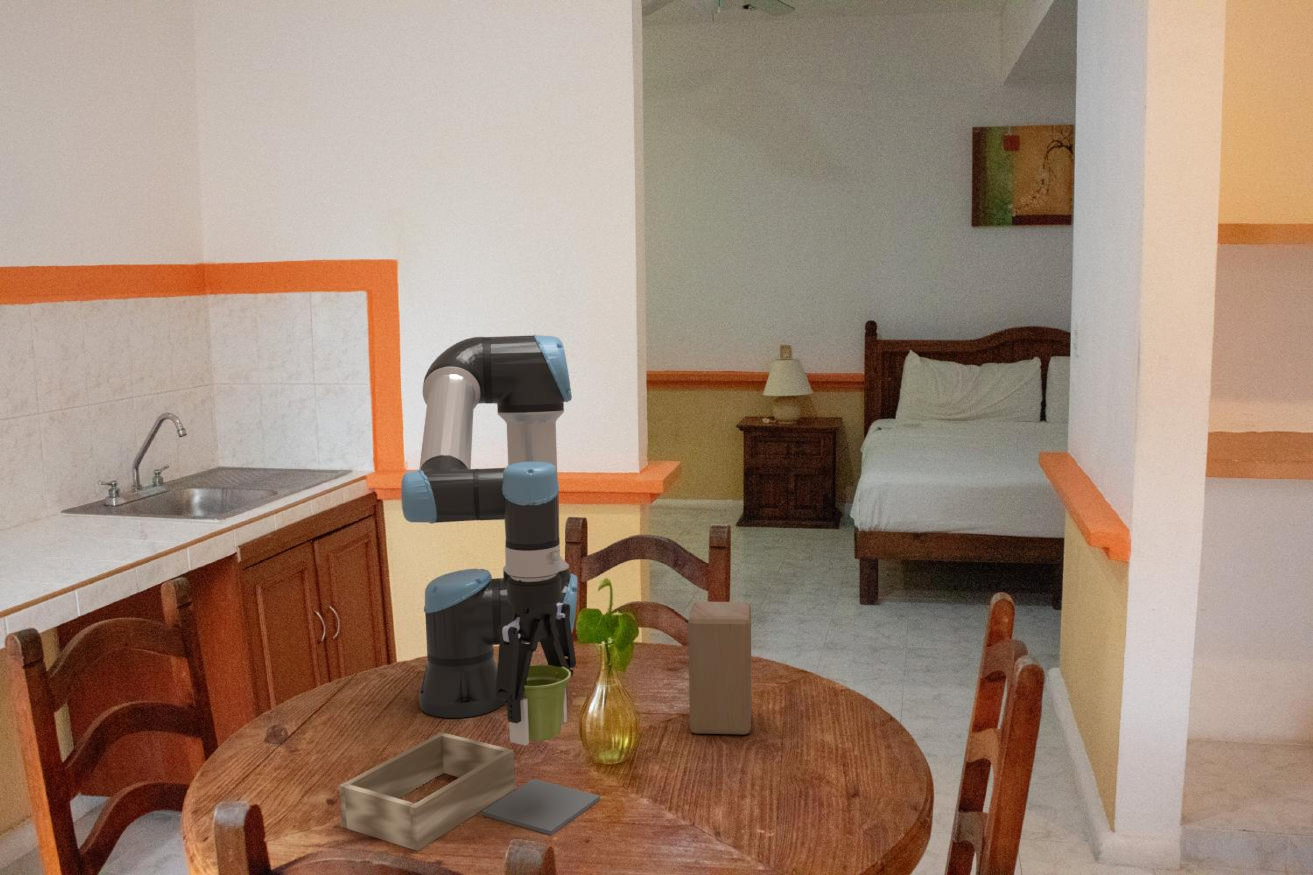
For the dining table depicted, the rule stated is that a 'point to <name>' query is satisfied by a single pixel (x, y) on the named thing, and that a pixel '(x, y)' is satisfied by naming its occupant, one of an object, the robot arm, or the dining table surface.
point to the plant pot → (545, 700)
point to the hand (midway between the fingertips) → (539, 731)
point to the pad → (541, 806)
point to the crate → (416, 825)
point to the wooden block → (720, 667)
